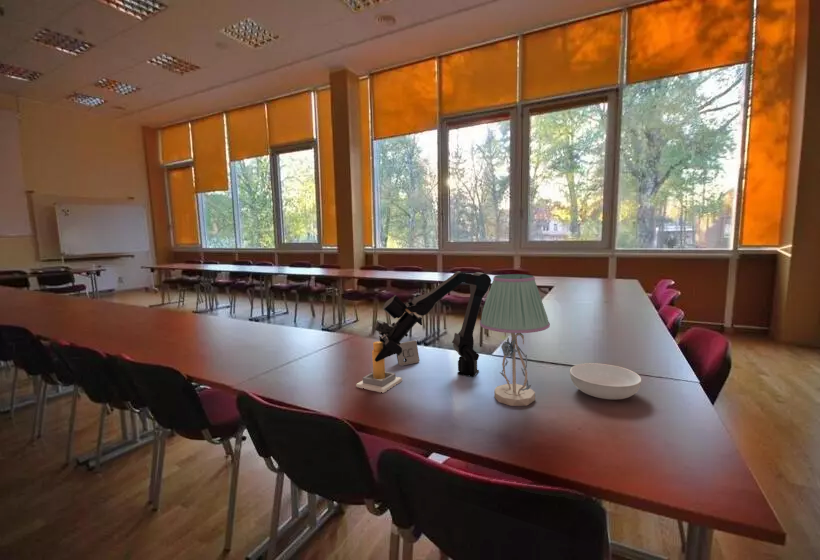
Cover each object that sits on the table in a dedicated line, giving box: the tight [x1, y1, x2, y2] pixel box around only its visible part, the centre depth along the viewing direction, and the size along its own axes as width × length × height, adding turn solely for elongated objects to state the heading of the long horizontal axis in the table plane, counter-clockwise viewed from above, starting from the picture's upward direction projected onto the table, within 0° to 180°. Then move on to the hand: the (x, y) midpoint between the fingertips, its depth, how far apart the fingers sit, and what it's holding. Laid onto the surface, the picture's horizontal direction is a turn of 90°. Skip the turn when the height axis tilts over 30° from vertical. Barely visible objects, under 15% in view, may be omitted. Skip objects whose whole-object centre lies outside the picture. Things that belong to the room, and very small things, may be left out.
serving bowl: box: [569, 362, 643, 400], centre depth 128 cm, size 21×21×7 cm
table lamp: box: [479, 273, 551, 407], centre depth 125 cm, size 22×22×40 cm
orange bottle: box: [371, 340, 386, 379], centre depth 142 cm, size 4×4×13 cm
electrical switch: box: [396, 340, 420, 367], centre depth 165 cm, size 9×5×9 cm, turn 116°
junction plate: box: [356, 371, 403, 394], centre depth 143 cm, size 12×12×3 cm
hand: (374, 358), depth 142 cm, fingers closed on orange bottle, 4 cm apart
